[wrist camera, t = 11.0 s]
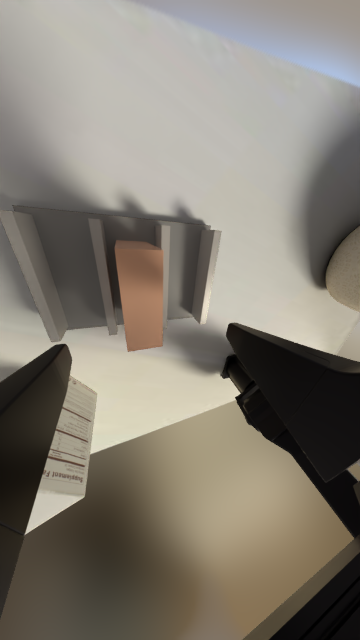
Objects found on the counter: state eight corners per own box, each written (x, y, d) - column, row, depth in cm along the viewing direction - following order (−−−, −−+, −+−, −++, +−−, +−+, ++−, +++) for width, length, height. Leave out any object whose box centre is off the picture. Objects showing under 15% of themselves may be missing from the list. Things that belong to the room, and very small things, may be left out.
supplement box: (60, 415, 26) (21, 539, 16) (16, 396, 22) (-77, 547, 11) (99, 392, 26) (86, 498, 16) (63, 369, 22) (15, 492, 12)
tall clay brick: (148, 308, 21) (162, 346, 14) (124, 310, 20) (127, 351, 13) (146, 241, 17) (163, 250, 10) (116, 240, 16) (114, 248, 9)
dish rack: (195, 313, 25) (206, 326, 22) (61, 326, 19) (49, 346, 16) (206, 225, 19) (225, 225, 16) (18, 206, 13) (-14, 199, 10)
